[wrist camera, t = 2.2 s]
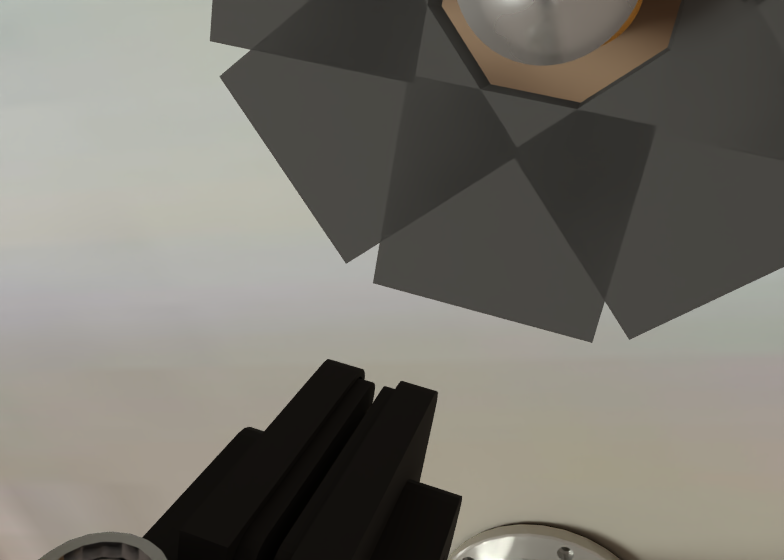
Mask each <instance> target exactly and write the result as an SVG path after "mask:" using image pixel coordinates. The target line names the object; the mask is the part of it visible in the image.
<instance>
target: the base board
mask: <svg viewBox="0 0 784 560" xmlns="http://www.w3.org/2000/svg"><path fill="white" fill-rule="evenodd" d="M680 3H681V0H643V1H642V4H641V7H640V9H639V11H638V13H637V15H636V17H635V18H634V20H633V21H632V23H631V24H630V25H629V26H628V28H627V29H626V30H625V31H624V32H623V33H622V34H621V35H619V36H618V37H617V38H615V39H614V40H612V41H611V42H609V43H607V44H605V45H603V46H601V47H599V48H597V49H596V50H594V51H592V52H591V53H589V54H587V55H585V56H583V57H581V58H578V59H576V60H573V61H570V62H566V63H563V64H556V65H549V66H536V65H528V64H523V63H519V62H515V61H512V60H510V59H508V58H505V57H503V56H501V55H499V54H498V53H496V52H494V51H493V50H491V49H490V48H489V47H488V46H487V45H485V44H484V43H483V42H482V41H481V40H480V39H479V38H478V37H477V36H476V35H475V33H474V32H473V31H472V29H471V28H470V27H469V25H468V24H467V22H466V20H465V18H464V16H463V14H462V12H461V9H460V7H459V4H458V1H457V0H443V2H442V7H443V9H444V10H445V12H446V14H447V15H448V17H449V18H450V20H451V22H452V23H453V25H454V26H455V28H456V30H457V31H458V33H459V34H460V36H461V37H462V39H463V41H464V42H465V44H466V45H467V47H468V49H469V50H470V52H471V53H472V55H473V57H474V58H475V60H476V61H477V63H478V65H479V66H480V68H481V69H482V71H483V73H484V74H485V76H486V77H487V79H488V80H489V82H490V84H492V85H497V86H502V87H507V88H512V89H517V90H522V91H526V92H531V93H536V94H541V95H546V96H551V97H556V98H561V99H566V100H571V101H575V102H580V103H581V102H583V101H584V100H586V99H587V98H589V97H590V96H592V95H594V94H595V93H597V92H598V91H600V90H601V89H603V88H605V87H606V86H608V85H609V84H611V83H612V82H614V81H616V80H617V79H619V78H620V77H622V76H623V75H625V74H627V73H628V72H630V71H631V70H633V69H634V68H636V67H638V66H639V65H641V64H642V63H644V62H645V61H647V60H649V59H650V58H652V57H653V56H655V55H656V54H658V53H660V52H661V51H663V50H664V49H666V48H667V47H668V44H669V40H670V37H671V34H672V30H673V27H674V23H675V20H676V17H677V13H678V10H679V6H680Z"/></svg>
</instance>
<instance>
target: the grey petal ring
mask: <svg viewBox="0 0 784 560" xmlns="http://www.w3.org/2000/svg"><path fill="white" fill-rule="evenodd" d="M442 2H443V0H213V3H212V18H211V33H210V41H212V42H217V43H222V44H226V45H231V46H236V47H241V48H246V49H250V51H249V52H248V53H247V54H245V55H244V56H243V57H242V58H241V59H240V60H238V61H237V62H236V63H235V64H234V65H232V66H231V67H230V68H229V69H228V70H227V71H225V72H224V73H223V74H222V75H221V76H220V78H221V79H222V81H223V82H224V84H225V85H226V87H227V88H228V90H229V91H230V93H231V94H232V96H233V97H234V99H235V100H236V102H237V103H238V105H239V106H240V107H241V109H242V110H243V112H244V113H245V115H246V116H247V118H248V119H249V121H250V122H251V124H252V125H253V127H254V128H255V130H256V131H257V133H258V134H259V136H260V137H261V139H262V140H263V141H264V143H265V144H266V146H267V147H268V149H269V150H270V152H271V153H272V155H273V156H274V158H275V159H276V161H277V162H278V164H279V165H280V167H281V168H282V170H283V171H284V172H285V174H286V175H287V177H288V178H289V180H290V181H291V183H292V184H293V186H294V187H295V189H296V190H297V192H298V193H299V195H300V196H301V198H302V199H303V201H304V202H305V204H306V205H307V206H308V208H309V209H310V211H311V212H312V214H313V215H314V217H315V218H316V220H317V221H318V223H319V224H320V226H321V227H322V229H323V230H324V232H325V233H326V235H327V236H328V238H329V239H330V240H331V242H332V243H333V245H334V246H335V248H336V249H337V251H338V252H339V254H340V255H341V257H342V258H343V260H344V261H345V263H348V262H350V261H351V260H353V259H354V258H356V257H358V256H359V255H361V254H362V253H364V252H366V251H367V250H369V249H370V248H372V247H373V246H375V245H377V244H378V243H380V245H379V251H378V257H377V263H376V269H375V275H374V281H373V283H375V284H378V285H382V286H386V287H389V288H393V289H397V290H400V291H404V292H408V293H411V294H415V295H419V296H422V297H426V298H430V299H433V300H437V301H441V302H444V303H448V304H452V305H455V306H459V307H463V308H466V309H470V310H474V311H477V312H481V313H485V314H488V315H492V316H496V317H499V318H503V319H507V320H511V321H514V322H518V323H522V324H525V325H529V326H533V327H536V328H540V329H544V330H547V331H551V332H555V333H558V334H562V335H566V336H569V337H573V338H577V339H580V340H584V341H588V342H591V343H592V342H593V338H594V335H595V332H596V328H597V325H598V322H599V318H600V315H601V312H602V308H603V305H604V302H606V304H607V305H608V307H609V308H610V310H611V311H612V313H613V315H614V316H615V318H616V319H617V321H618V323H619V324H620V326H621V327H622V329H623V330H624V332H625V334H626V335H627V337H628V338H629V340H630V339H632V338H634V337H636V336H638V335H640V334H642V333H645V332H647V331H649V330H651V329H653V328H655V327H657V326H659V325H662V324H664V323H666V322H668V321H670V320H672V319H674V318H676V317H678V316H681V315H683V314H685V313H687V312H689V311H691V310H693V309H695V308H698V307H700V306H702V305H704V304H706V303H708V302H710V301H712V300H715V299H717V298H719V297H721V296H723V295H725V294H727V293H729V292H732V291H734V290H736V289H738V288H740V287H742V286H744V285H746V284H748V283H751V282H753V281H755V280H757V279H759V278H761V277H763V276H765V275H768V274H770V273H772V272H774V271H776V270H778V269H780V268H782V267H784V0H681V3H680V6H679V10H678V13H677V17H676V20H675V23H674V27H673V30H672V34H671V37H670V40H669V44H668V47H667V48H666V49H664V50H663V51H661V52H660V53H658V54H656V55H655V56H653V57H652V58H650V59H649V60H647V61H645V62H644V63H642V64H641V65H639V66H638V67H636V68H634V69H633V70H631V71H630V72H628V73H627V74H625V75H623V76H622V77H620V78H619V79H617V80H616V81H614V82H612V83H611V84H609V85H608V86H606V87H605V88H603V89H601V90H600V91H598V92H597V93H595V94H594V95H592V96H590V97H589V98H587V99H586V100H584V101H583V102H581V103H580V102H575V101H571V100H566V99H561V98H556V97H551V96H546V95H541V94H536V93H531V92H526V91H522V90H517V89H512V88H507V87H502V86H497V85H492V84H490V82H489V80H488V79H487V77H486V76H485V74H484V73H483V71H482V69H481V68H480V66H479V65H478V63H477V61H476V60H475V58H474V57H473V55H472V53H471V52H470V50H469V49H468V47H467V45H466V44H465V42H464V41H463V39H462V37H461V36H460V34H459V33H458V31H457V30H456V28H455V26H454V25H453V23H452V22H451V20H450V18H449V17H448V15H447V14H446V12H445V10H444V9H443V7H442Z"/></svg>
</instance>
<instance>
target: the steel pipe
mask: <svg viewBox="0 0 784 560" xmlns="http://www.w3.org/2000/svg"><path fill="white" fill-rule="evenodd" d="M457 1H458V4H459V7H460V9H461V12H462V14H463V16H464V18H465V20H466V22H467V24H468V25H469V27H470V28H471V29H472V31H473V32H474V33H475V35H476V36H477V37H478V38H479V39H480V40H481V41H482V42H483V43H484V44H485V45H487V46H488V47H489V48H490V49H491V50H493V51H494V52H496V53H498V54H499V55H501V56H503V57H505V58H508V59H510V60H512V61H515V62H519V63H523V64H528V65H536V66H549V65H556V64H563V63H566V62H570V61H573V60H576V59H578V58H581V57H583V56H585V55H587V54H589V53H591V52H592V51H594V50H596V49H597V48H599V47H601V46H603V45H605V44H607V43H609V42H611V41H612V40H614V39H615V38H617V37H618V36H619V35H621V34H622V33H623V32H624V31H625V30H626V29H627V28H628V26H629V25H630V24H631V23H632V21H633V20H634V18H635V17H636V15H637V13H638V11H639V9H640V7H641V4H642V1H643V0H457Z"/></svg>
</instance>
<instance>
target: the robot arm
mask: <svg viewBox="0 0 784 560" xmlns="http://www.w3.org/2000/svg"><path fill="white" fill-rule="evenodd" d="M364 379H365V372H364V370H363V369H360V368H357V367H354V366H350V365H347V364H344V363H340V362H337V361H333V360H330V359H327V360H326V361H325V362H324V363H323V364H322V365H321V366H320V367H319V369H318V370H317V371H316V372H315V373H314V374H313V376H312V377H311V378H310V379H309V380H308V381H307V382H306V384H305V385H304V386H303V387H302V388H301V389H300V391H299V392H298V393H297V394H296V395H295V396H294V398H293V399H292V400H291V401H290V402H289V403H288V404H287V406H286V407H285V408H284V409H283V410H282V411H281V413H280V414H279V415H278V416H277V417H276V418H275V420H274V421H273V422H272V423H271V424H270V425H269V426H268V428H267V429H266V430H265V431H261V430H258V429H255V428H252V427H247V428H244V429H243V430H242V431H241V432H239V433H238V434H237V435H236V436H235V437H234V439H233V440H232V441H231V442H230V443H229V444H228V445H227V446H226V447H225V448H224V449H223V451H222V452H221V453H220V454H219V455H218V456H217V457H216V458H215V459H214V460H213V461H212V462H211V464H210V465H209V466H208V467H207V468H206V469H205V470H204V471H203V472H202V473H201V474H200V476H199V477H198V478H197V479H196V480H195V481H194V482H193V483H192V484H191V485H190V486H189V487H188V489H187V490H186V491H185V492H184V493H183V494H182V495H181V496H180V497H179V498H178V499H177V500H176V502H175V503H174V504H173V505H172V506H171V507H170V508H169V509H168V510H167V511H166V512H165V514H164V515H163V516H162V517H161V518H160V519H159V520H158V521H157V522H156V523H155V524H154V525H153V527H152V528H151V529H150V530H149V531H148V532H147V533H146V534H145V535H144V536H143V537H142V538H141V537H138V536H136V535H133V534H128V533H119V532H103V533H94V534H88V535H85V536H82V537H78V538H75V539H72V540H69V541H67V542H65V543H63V544H62V545H60V546H58V547H56V548H55V549H53V550H51V551H49V552H48V553H47V554H45V555H44V556H43V557H41V558H40V559H39V560H447V558H448V555H449V551H450V547H451V543H452V539H453V535H454V531H455V527H456V523H457V519H458V515H459V511H460V506H461V502H462V496H460V495H457V494H454V493H451V492H447V491H444V490H441V489H438V488H435V487H432V486H429V485H426V484H423V483H420V477H421V473H422V468H423V463H424V459H425V454H426V450H427V445H428V440H429V436H430V431H431V426H432V422H433V417H434V412H435V408H436V403H437V396H438V392H437V391H434V390H431V389H427V388H424V387H421V386H417V385H414V384H411V383H407V382H404V381H400V383H399V384H398V385H397V387H396V389H393V388H389V387H386V386H384V387H383V388H382V390H381V391H380V393H379V394H378V396H377V397H376V399H375V401H374V402H373V398H374V391H375V384H374V383H373V382H369V381H366V380H364ZM372 403H373V404H372ZM448 560H620V559H619V558H617V557H616V556H615V555H614V554H612V553H611V552H610V551H608V550H607V549H605V548H604V547H602V546H600V545H598V544H596V543H595V542H593V541H591V540H589V539H587V538H585V537H582V536H580V535H577V534H574V533H572V532H569V531H566V530H563V529H558V528H553V527H548V526H543V525H525V524H519V525H510V526H502V527H497V528H494V529H491V530H488V531H484V532H481V533H479V534H478V535H476V536H474V537H472V538H470V539H468V540H467V541H465V542H464V543H463V544H462V545H460V546H459V547H458V548H457V549H456V550H455V551H454V552H453V553H452V554H451V556H450V557H449V558H448Z"/></svg>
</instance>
